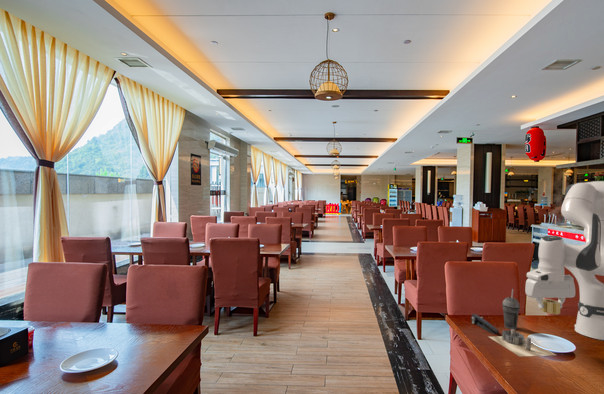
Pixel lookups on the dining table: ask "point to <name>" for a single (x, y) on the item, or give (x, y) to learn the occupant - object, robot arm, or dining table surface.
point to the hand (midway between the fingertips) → (550, 307)
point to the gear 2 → (551, 306)
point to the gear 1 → (513, 337)
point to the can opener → (483, 323)
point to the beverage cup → (510, 312)
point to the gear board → (523, 347)
